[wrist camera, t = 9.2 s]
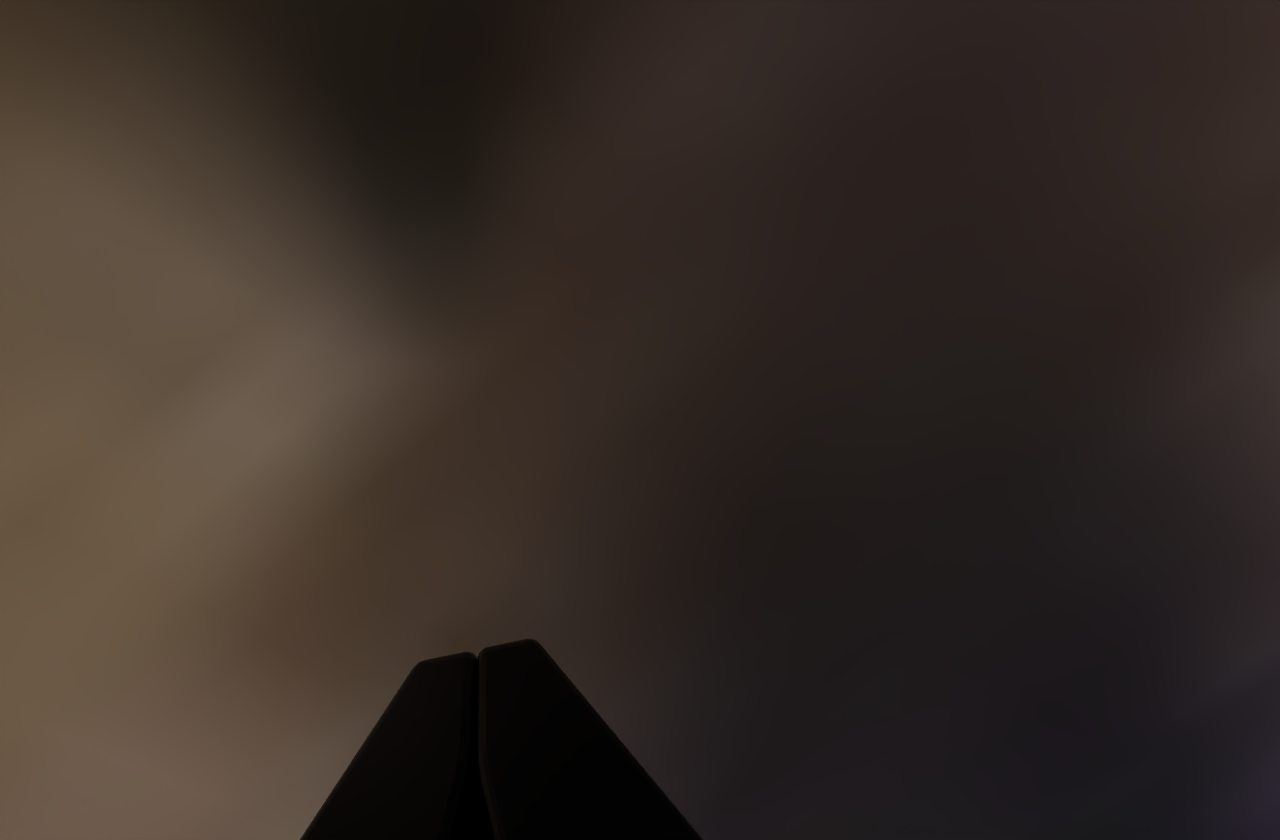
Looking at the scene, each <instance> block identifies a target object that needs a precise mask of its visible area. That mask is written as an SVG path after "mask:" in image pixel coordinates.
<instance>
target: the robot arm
mask: <svg viewBox="0 0 1280 840" xmlns="http://www.w3.org/2000/svg"><path fill="white" fill-rule="evenodd" d="M300 840H703V839H702V838H701V837H700V835H699V834H698V833H697V832H696V831H695V829H694V828H693V827H692V826H691V825H690V823H689V822H688V821H687V820H686V819H685V817H684V816H683V815H682V814H681V813H680V811H679V810H678V809H677V808H676V807H675V805H674V804H673V803H672V802H671V801H670V799H669V798H668V797H667V796H666V795H665V793H664V792H663V791H662V790H661V789H660V787H659V786H658V785H657V784H656V783H655V781H654V780H653V779H652V778H651V777H650V775H649V774H648V773H647V772H646V771H645V769H644V768H643V767H642V766H641V765H640V763H639V762H638V761H637V760H636V759H635V757H634V756H633V755H632V754H631V753H630V751H629V750H628V749H627V748H626V747H625V745H624V744H623V743H622V742H621V741H620V739H619V738H618V737H617V736H616V734H615V733H614V732H613V731H612V730H611V728H610V727H609V726H608V725H607V724H606V722H605V721H604V720H603V719H602V718H601V716H600V715H599V714H598V713H597V712H596V710H595V709H594V708H593V707H592V706H591V704H590V703H589V702H588V701H587V700H586V698H585V697H584V696H583V695H582V694H581V692H580V691H579V690H578V689H577V688H576V686H575V685H574V684H573V683H572V682H571V680H570V679H569V678H568V677H567V676H566V674H565V673H564V672H563V671H562V670H561V668H560V667H559V666H558V665H557V664H556V662H555V661H554V660H553V659H552V658H551V656H550V655H549V654H548V653H547V652H546V650H545V649H544V648H543V647H542V646H541V644H540V643H538V642H537V641H536V640H533V639H524V640H519V641H515V642H510V643H505V644H500V645H496V646H491V647H487V648H484V649H483V650H482V651H481V652H480V653H479V656H478V658H477V657H476V656H475V655H474V654H473V653H471V652H462V653H457V654H452V655H448V656H443V657H438V658H433V659H428V660H424V661H421V662H419V663H418V664H417V665H416V666H415V667H414V668H413V669H412V670H411V672H410V673H409V675H408V676H407V678H406V680H405V681H404V683H403V684H402V686H401V687H400V689H399V690H398V692H397V693H396V695H395V696H394V698H393V699H392V701H391V702H390V704H389V705H388V707H387V708H386V710H385V711H384V713H383V714H382V716H381V717H380V719H379V720H378V722H377V724H376V725H375V727H374V728H373V730H372V731H371V733H370V734H369V736H368V737H367V739H366V740H365V742H364V743H363V745H362V746H361V748H360V749H359V751H358V752H357V754H356V755H355V757H354V758H353V760H352V761H351V763H350V764H349V766H348V768H347V769H346V771H345V772H344V774H343V775H342V777H341V778H340V780H339V781H338V783H337V784H336V786H335V787H334V789H333V790H332V792H331V793H330V795H329V796H328V798H327V799H326V801H325V802H324V804H323V805H322V807H321V808H320V810H319V811H318V813H317V815H316V816H315V818H314V819H313V821H312V822H311V824H310V825H309V827H308V828H307V830H306V831H305V833H304V834H303V836H302V837H301V839H300Z"/></svg>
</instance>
